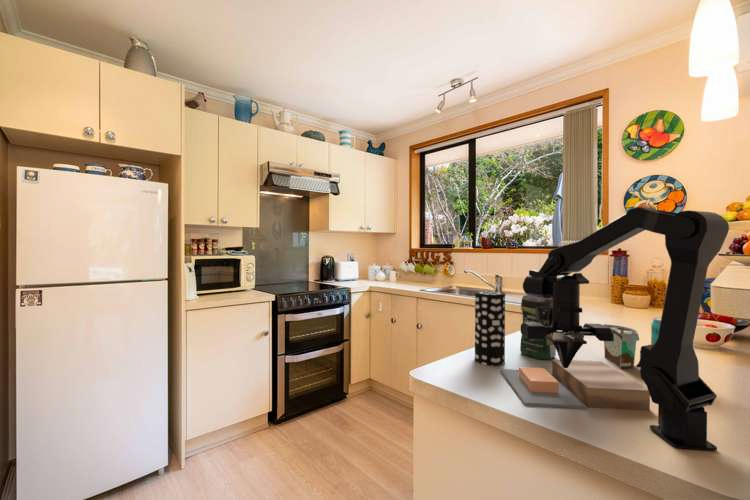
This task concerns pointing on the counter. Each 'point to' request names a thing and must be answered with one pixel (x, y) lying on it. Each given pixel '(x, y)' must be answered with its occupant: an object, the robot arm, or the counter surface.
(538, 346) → the coffee jar
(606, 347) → the food container
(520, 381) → the mat
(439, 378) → the counter surface
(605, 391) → the plate
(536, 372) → the tile
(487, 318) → the white-spotted black cylinder
